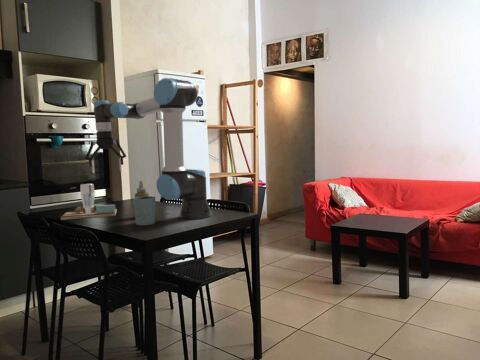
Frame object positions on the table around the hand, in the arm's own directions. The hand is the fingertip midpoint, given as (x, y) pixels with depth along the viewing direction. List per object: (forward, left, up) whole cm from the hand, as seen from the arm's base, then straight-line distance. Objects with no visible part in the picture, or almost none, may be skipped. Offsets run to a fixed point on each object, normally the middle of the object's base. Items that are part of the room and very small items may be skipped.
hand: (107, 172), depth 220 cm
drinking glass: (-33, -18, -23) cm, 44 cm away
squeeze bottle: (-15, -17, -23) cm, 32 cm away
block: (-3, +2, -21) cm, 21 cm away
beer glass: (+5, +11, -21) cm, 25 cm away
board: (+3, +10, -22) cm, 25 cm away
